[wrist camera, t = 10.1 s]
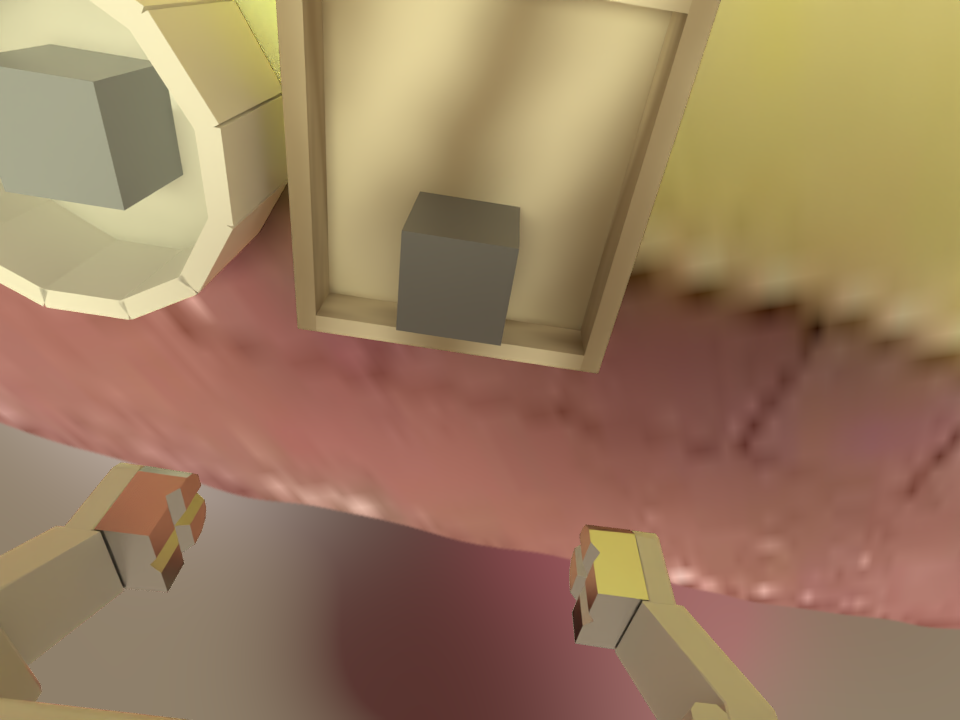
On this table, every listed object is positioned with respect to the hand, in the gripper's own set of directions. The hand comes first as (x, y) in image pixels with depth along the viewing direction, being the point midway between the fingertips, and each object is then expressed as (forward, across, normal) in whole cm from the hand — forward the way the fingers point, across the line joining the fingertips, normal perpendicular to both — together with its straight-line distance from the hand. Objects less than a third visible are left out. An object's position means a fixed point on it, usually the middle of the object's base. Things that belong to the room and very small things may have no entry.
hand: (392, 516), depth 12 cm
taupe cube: (+14, +13, -3) cm, 19 cm away
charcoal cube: (+14, 0, 0) cm, 14 cm away
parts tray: (+15, 0, -3) cm, 15 cm away
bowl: (+15, +13, -3) cm, 20 cm away
